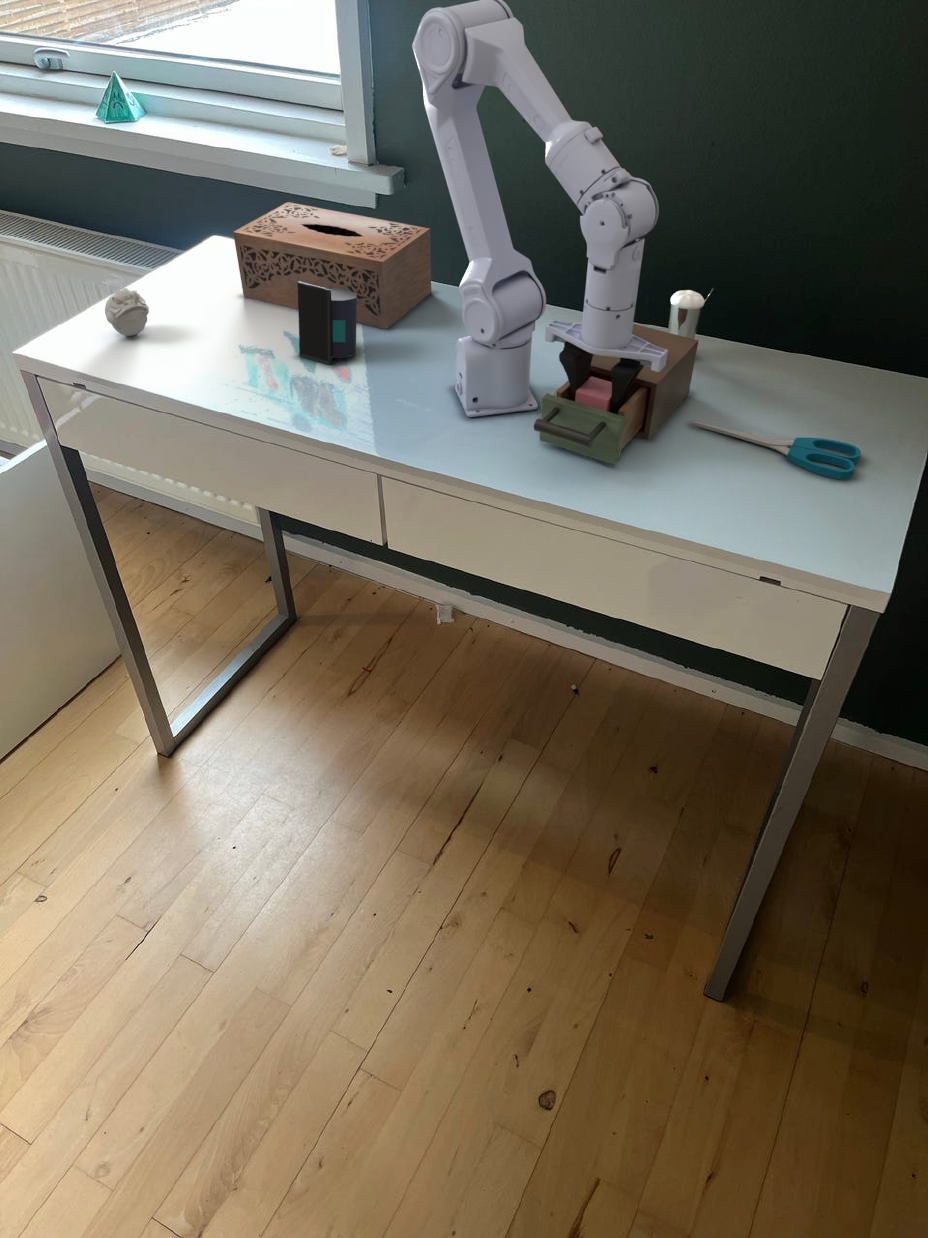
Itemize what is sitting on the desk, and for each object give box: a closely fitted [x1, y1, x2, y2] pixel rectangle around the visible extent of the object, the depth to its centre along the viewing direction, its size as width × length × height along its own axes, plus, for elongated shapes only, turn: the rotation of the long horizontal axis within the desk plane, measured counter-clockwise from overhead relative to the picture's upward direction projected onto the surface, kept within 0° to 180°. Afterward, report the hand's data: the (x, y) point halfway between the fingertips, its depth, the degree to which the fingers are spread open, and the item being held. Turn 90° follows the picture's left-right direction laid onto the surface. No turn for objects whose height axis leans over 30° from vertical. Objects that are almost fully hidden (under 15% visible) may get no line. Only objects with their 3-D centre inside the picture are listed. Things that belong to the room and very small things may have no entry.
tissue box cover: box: [232, 201, 432, 330], centre depth 142 cm, size 26×14×10 cm, turn 64°
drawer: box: [533, 370, 651, 465], centre depth 111 cm, size 17×10×6 cm, turn 148°
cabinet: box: [590, 323, 699, 440], centre depth 118 cm, size 13×11×8 cm
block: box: [575, 377, 612, 412], centre depth 111 cm, size 4×4×4 cm
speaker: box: [297, 281, 357, 366], centre depth 127 cm, size 8×6×10 cm
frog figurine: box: [104, 287, 150, 337], centre depth 133 cm, size 6×7×7 cm
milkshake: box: [667, 288, 714, 339], centre depth 127 cm, size 4×5×10 cm
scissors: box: [693, 421, 862, 480], centre depth 113 cm, size 7×1×20 cm
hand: (597, 408), depth 111 cm, fingers closed on block, 4 cm apart
